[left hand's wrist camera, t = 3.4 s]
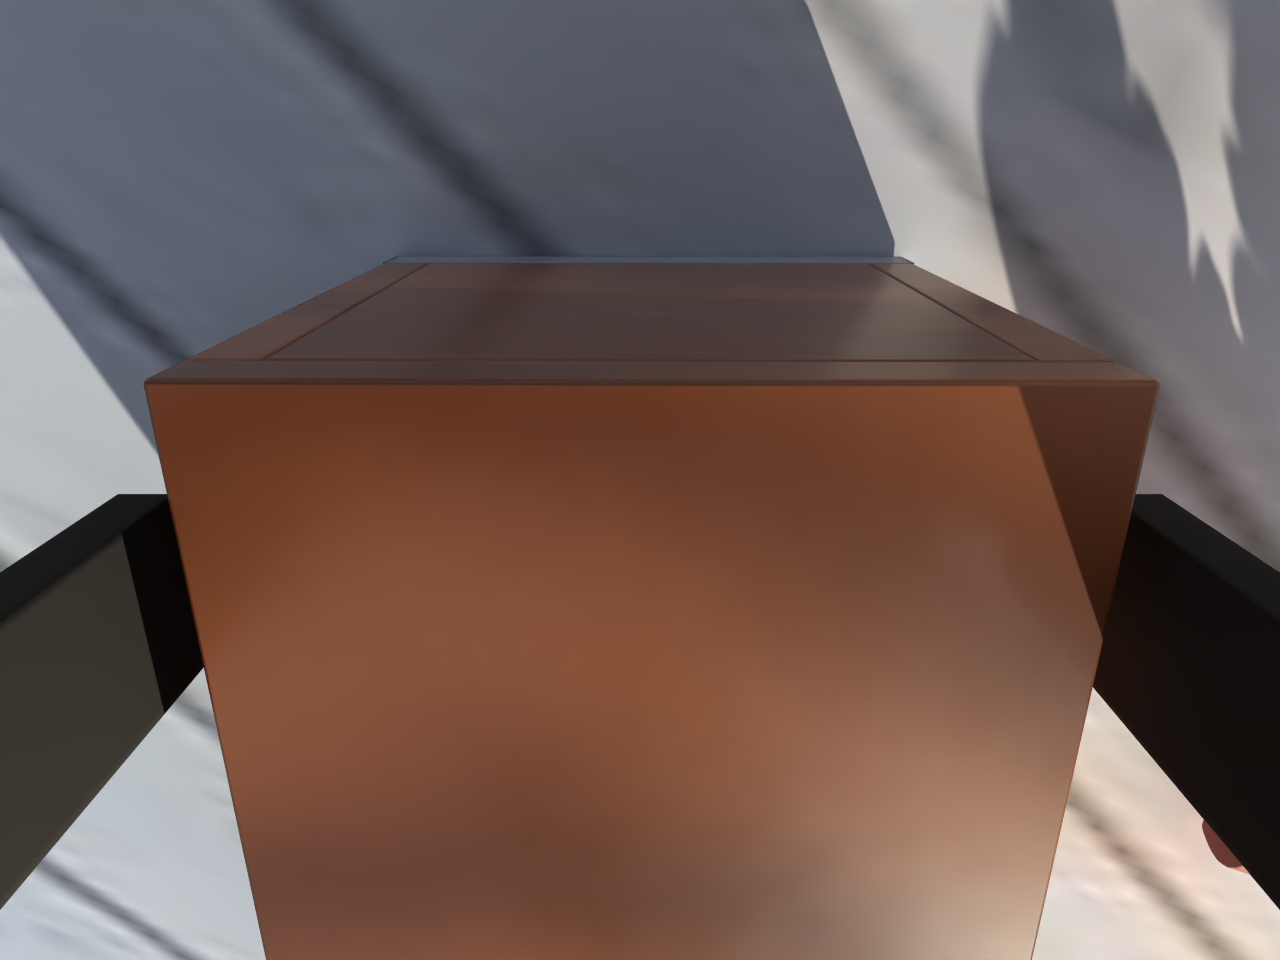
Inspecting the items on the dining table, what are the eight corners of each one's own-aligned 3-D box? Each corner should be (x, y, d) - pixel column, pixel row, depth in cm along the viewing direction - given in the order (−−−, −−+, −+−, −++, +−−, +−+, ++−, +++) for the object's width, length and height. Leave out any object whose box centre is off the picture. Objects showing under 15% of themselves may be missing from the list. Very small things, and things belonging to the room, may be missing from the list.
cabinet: (840, 824, 25) (965, 1266, 15) (452, 822, 26) (328, 1260, 16) (901, 256, 20) (1164, 379, 10) (395, 256, 20) (138, 378, 10)
